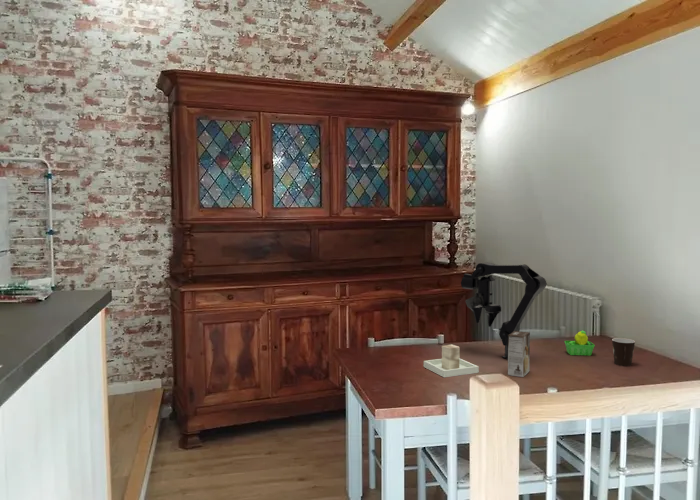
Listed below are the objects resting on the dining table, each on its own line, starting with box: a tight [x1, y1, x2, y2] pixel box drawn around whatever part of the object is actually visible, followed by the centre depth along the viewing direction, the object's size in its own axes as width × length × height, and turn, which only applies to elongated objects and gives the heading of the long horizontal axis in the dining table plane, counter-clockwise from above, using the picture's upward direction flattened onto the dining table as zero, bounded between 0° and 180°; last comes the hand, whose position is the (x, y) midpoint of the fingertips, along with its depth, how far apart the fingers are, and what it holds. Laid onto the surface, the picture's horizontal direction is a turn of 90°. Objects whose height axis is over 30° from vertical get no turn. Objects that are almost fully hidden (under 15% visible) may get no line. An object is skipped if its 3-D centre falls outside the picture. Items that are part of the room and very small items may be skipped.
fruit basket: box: [564, 330, 595, 356], centre depth 247 cm, size 11×9×11 cm
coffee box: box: [507, 330, 531, 378], centre depth 218 cm, size 9×6×16 cm
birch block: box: [441, 344, 460, 370], centre depth 224 cm, size 5×5×9 cm
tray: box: [423, 357, 480, 378], centre depth 225 cm, size 16×16×2 cm
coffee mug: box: [611, 337, 636, 367], centre depth 230 cm, size 12×9×10 cm
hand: (483, 324), depth 250 cm, fingers open, 9 cm apart
